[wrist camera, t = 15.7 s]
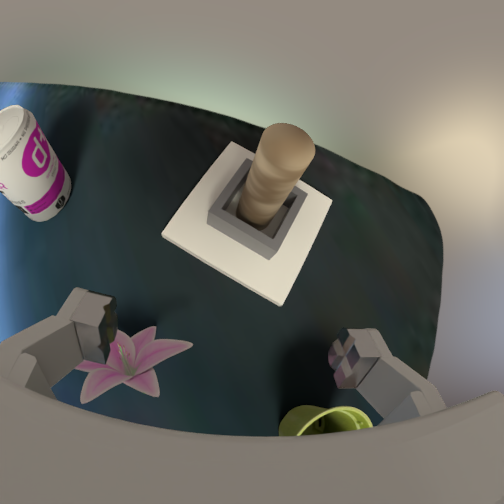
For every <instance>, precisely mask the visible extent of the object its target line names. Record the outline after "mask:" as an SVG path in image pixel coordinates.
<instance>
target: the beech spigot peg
mask: <svg viewBox="0 0 504 504" xmlns="http://www.w3.org/2000/svg"><path fill="white" fill-rule="evenodd" d="M314 155H315V146H314V143H313V141H312V139H311V138H310V137H309V135H308V134H307V133H306V132H305V131H303V130H302V129H300V128H298V127H297V126H294V125H291V124H287V123H277V124H273V125H271V126H269V127H267V128H266V129H265V130H264V132H263V134H262V137H261V140H260V143H259V145H258V148H257V151H256V154H255V157H254V159H253V162H252V165H251V168H250V171H249V174H248V177H247V180H246V182H245V185H244V188H243V191H242V194H241V197H240V200H239V203H238V206H237V209H236V218H238V219H240V220H241V221H243V222H245V223H247V224H248V225H250V226H252V227H253V228H255V229H257V230H258V231H261V230H263V229H265V228H266V227H267V226H268V225H269V224H270V222H271V221H272V219H273V218H274V216H275V215H276V213H277V212H278V210H279V209H280V207H281V206H282V204H283V203H284V201H285V200H286V198H287V197H288V195H289V194H290V192H291V191H292V189H293V188H294V186H295V185H296V183H297V182H298V180H299V179H300V177H301V176H302V174H303V173H304V171H305V169H306V168H307V166H308V165H309V163H310V162H311V160H312V159H313V157H314Z"/></svg>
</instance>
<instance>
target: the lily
mask: <svg viewBox="0 0 504 504" xmlns="http://www.w3.org/2000/svg"><path fill="white" fill-rule="evenodd" d="M155 334H156V326H151V327H149V328H146V329H144V330H142V331H140V332H139V333H137V334H135V335H134V336H132V337H131V338H130V337H129V336H128V335H127V334H125V333H124V332H122V331H120V330H117V334H116V337H115V340H114V342H112V343H111V344H110V349H111V351H110V354H109V357H108V360H107V362H106V365H104V364H99V363H95V362H91V361H87V360H83V362H81V363H80V364H79V365H78V366H77V367H75V368H74V369H78V370H82V371H86V372H90V373H89V374H88V376H87V378H86V380H85V382H84V385H83V388H82V392H81V398H80V401H81V403H82V404H83V403H87V402H89V401H91V400H93V399H94V398H96V397H97V396H99V395H101V394H102V393H104V392H105V391H107V390H109V389H110V388H112V387H114V386H116V385H118V384H120V383H122V382H123V383H125V384H126V385H128V386H130V387H132V388H134V389H136V390H138V391H141V392H143V393H144V394H148V395H151V396H153V397H159V395H160V391H159V385H158V380H157V377H156V374H155V371H154V369H153V368H152V367H153V366H154V365H156V364H158V363H159V362H161V361H163V360H165V359H167V358H169V357H171V356H173V355H175V354H178V353H180V352H182V351H184V350H186V349H188V348H190V347H192V345H193V344H192V343H190V342H186V341H181V340H172V339H158V340H154V338H155Z"/></svg>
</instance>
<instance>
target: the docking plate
mask: <svg viewBox="0 0 504 504" xmlns="http://www.w3.org/2000/svg"><path fill="white" fill-rule="evenodd" d="M254 157H255V154H254V153H252V152H251V151H249V150H247V149H245V148H243V147H241V146H240V145H238V144H236V143H234V142H232V141H231V142H230V144H229V145H228V146H227V147H226V149H225V150H224V151H223V152H222V153H221V155H220V156H219V157H218V158H217V160H216V161H215V162H214V163H213V165H212V166H211V167H210V168H209V170H208V171H207V172H206V173H205V175H204V176H203V177H202V179H201V180H200V181H199V183H198V184H197V185H196V186H195V188H194V189H193V190H192V192H191V193H190V194H189V196H188V197H187V198H186V200H185V201H184V202H183V204H182V205H181V207H180V208H179V209H178V211H177V212H176V213H175V215H174V216H173V218H172V219H171V220H170V222H169V223H168V225H167V226H166V228H165V229H164V230H163V232H162V237H164V238H165V239H167V240H168V241H170V242H172V243H173V244H175V245H177V246H178V247H180V248H181V249H183V250H185V251H186V252H188V253H190V254H191V255H193V256H195V257H196V258H198V259H199V260H201V261H203V262H204V263H206V264H208V265H209V266H211V267H213V268H214V269H216V270H218V271H219V272H221V273H223V274H225V275H226V276H228V277H230V278H231V279H233V280H235V281H236V282H238V283H240V284H242V285H243V286H245V287H247V288H248V289H250V290H252V291H254V292H255V293H257V294H259V295H261V296H262V297H264V298H266V299H268V300H269V301H271V302H273V303H275V304H276V305H278V306H281V305H283V303H284V301H285V299H286V297H287V295H288V293H289V291H290V289H291V287H292V285H293V283H294V281H295V279H296V277H297V275H298V273H299V271H300V269H301V267H302V265H303V263H304V261H305V259H306V257H307V255H308V252H309V250H310V248H311V246H312V244H313V242H314V240H315V238H316V236H317V233H318V231H319V229H320V227H321V225H322V223H323V220H324V218H325V216H326V214H327V212H328V209H329V207H330V205H331V203H332V200H331V199H329V198H328V197H326V196H325V195H323V194H322V193H320V192H318V191H317V190H315V189H314V188H312V187H311V186H309V185H307V184H306V183H304V182H302V181H301V180H298V182H297V183H296V185H295V186H294V188H293V189H292V191H291V192H290V194H289V195H288V197H287V198H286V200H285V201H284V203H283V204H282V206H281V207H280V209H279V210H278V212H277V213H276V215H275V216H274V218H273V219H272V221H271V222H270V224H269V225H268V226H267V227H266V228H265V229H263V230H261V231H258V230H257V229H255V228H253V227H252V226H250V225H248V224H247V223H245V222H243V221H241V220H240V219H238V218H236V209H237V206H238V203H239V200H240V197H241V194H242V191H243V188H244V185H245V182H246V180H247V177H248V174H249V171H250V168H251V165H252V162H253V159H254Z"/></svg>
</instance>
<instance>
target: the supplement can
mask: <svg viewBox="0 0 504 504" xmlns="http://www.w3.org/2000/svg"><path fill="white" fill-rule="evenodd" d="M70 191H71V179H70V177H69V175H68V173H67V172H66V170H65V168H64V167H63V165H62V164H61V162H60V161H59V159H58V157H57V156H56V154H55V152H54V151H53V149H52V147H51V146H50V144H49V142H48V141H47V139H46V137H45V136H44V134H43V132H42V130H41V129H40V127H39V125H38V123H37V121H36V120H35V118H34V116H33V114H32V113H31V112H30V111H28V110H26V109H23V108H22V107H21V106H19V105H11V106H9V107H6V108H4V109H2V110H1V111H0V192H1V193H2V194H3V195H4V196H6V197H7V198H8V199H9V200H10V201H11V202H12V203H13V204H14V205H15V206H16V207H18V208H19V209H20V210H21V211H22V212H23V213H24V214H25V215H27V216H28V217H29V218H30V219H31V220H34V221H38V222H40V221H45V220H48V219H50V218H52V217H53V216H55V215H56V214H57V213H58V212H59V211H60V210H61V209H62V208H63V207H64V205H65V203H66V201H67V200H68V198H69V194H70Z"/></svg>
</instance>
